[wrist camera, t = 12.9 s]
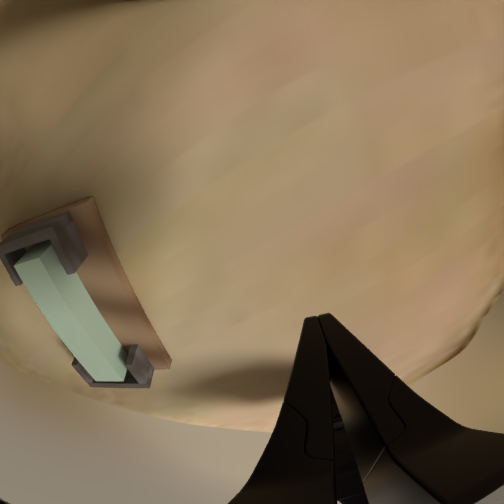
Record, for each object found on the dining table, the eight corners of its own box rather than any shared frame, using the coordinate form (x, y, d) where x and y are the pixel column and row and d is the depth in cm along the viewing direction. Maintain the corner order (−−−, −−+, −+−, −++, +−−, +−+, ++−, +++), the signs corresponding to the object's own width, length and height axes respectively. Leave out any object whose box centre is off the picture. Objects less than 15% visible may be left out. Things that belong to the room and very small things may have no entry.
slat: (130, 357, 26) (123, 381, 24) (103, 359, 26) (95, 381, 24) (58, 237, 19) (39, 257, 16) (32, 246, 19) (13, 265, 17)
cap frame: (171, 359, 28) (166, 388, 25) (90, 362, 29) (80, 387, 26) (92, 196, 19) (68, 217, 16) (8, 229, 20) (-15, 249, 16)
